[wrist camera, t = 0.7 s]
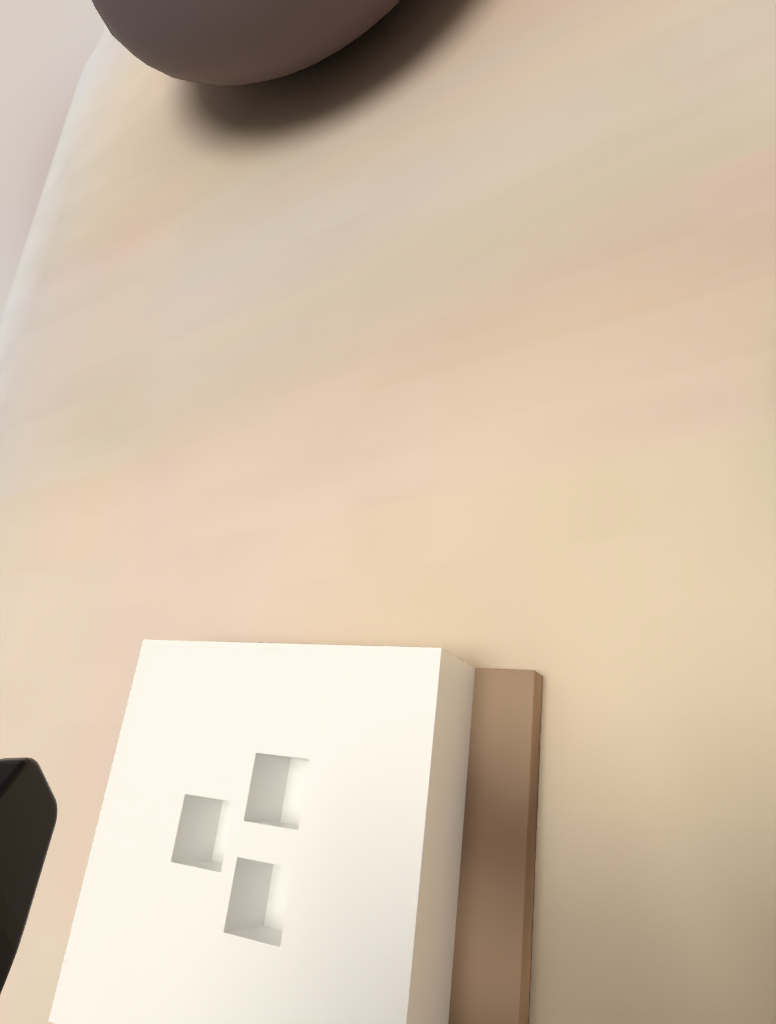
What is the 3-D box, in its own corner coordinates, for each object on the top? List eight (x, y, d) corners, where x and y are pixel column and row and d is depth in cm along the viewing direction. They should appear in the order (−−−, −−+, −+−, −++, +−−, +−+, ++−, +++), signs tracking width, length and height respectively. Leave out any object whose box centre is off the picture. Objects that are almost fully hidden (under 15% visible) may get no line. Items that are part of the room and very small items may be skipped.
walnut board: (506, 1561, 16) (492, 1599, 15) (35, 1268, 23) (9, 1284, 22) (542, 676, 23) (534, 670, 23) (175, 660, 31) (159, 655, 30)
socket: (441, 1114, 19) (393, 1153, 17) (119, 1003, 25) (48, 1021, 22) (475, 668, 24) (441, 647, 21) (196, 656, 29) (143, 639, 26)
